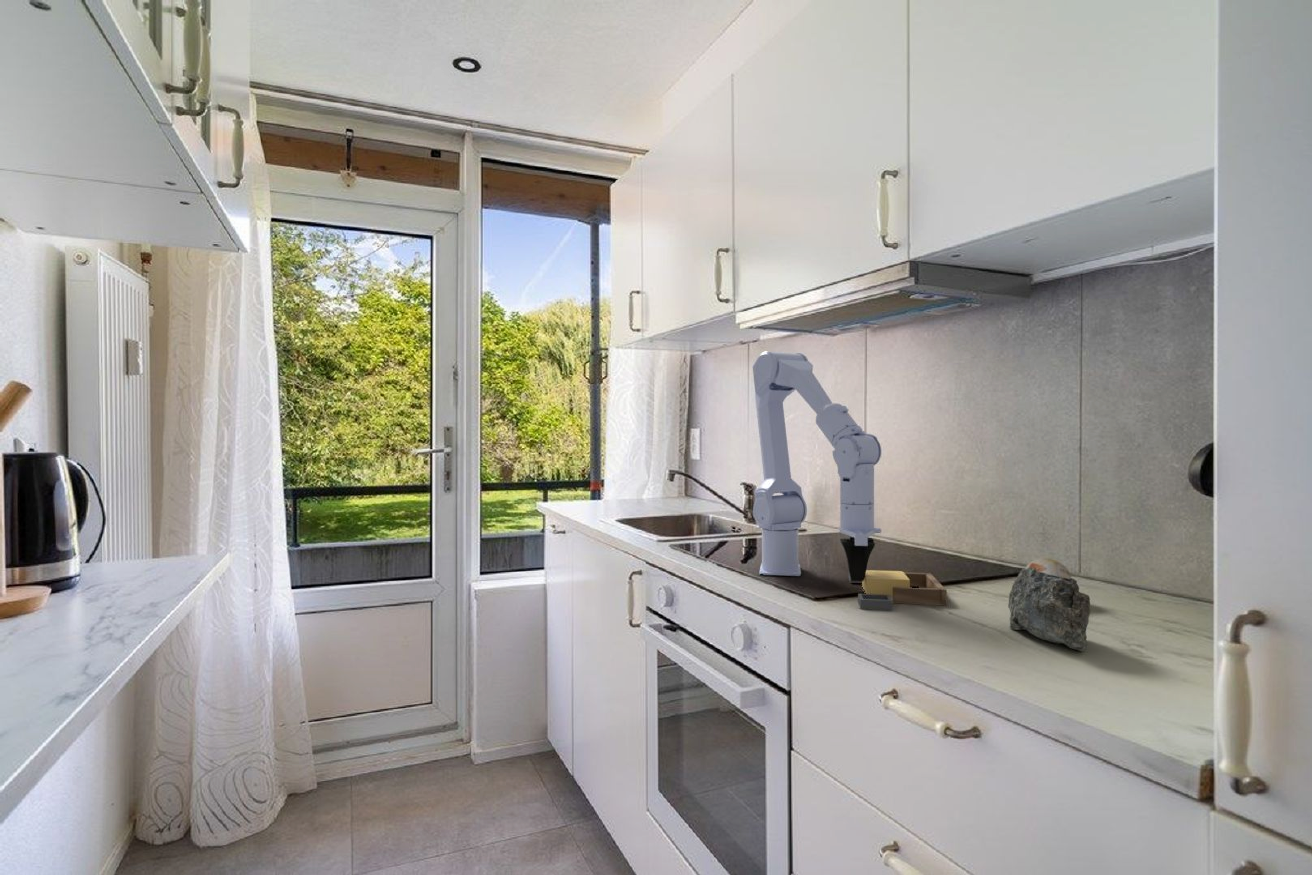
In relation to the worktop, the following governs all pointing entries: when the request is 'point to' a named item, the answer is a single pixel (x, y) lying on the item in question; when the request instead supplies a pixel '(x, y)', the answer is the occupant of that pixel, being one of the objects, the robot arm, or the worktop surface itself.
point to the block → (884, 581)
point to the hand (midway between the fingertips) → (857, 580)
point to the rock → (1049, 608)
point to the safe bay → (921, 591)
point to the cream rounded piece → (1050, 567)
